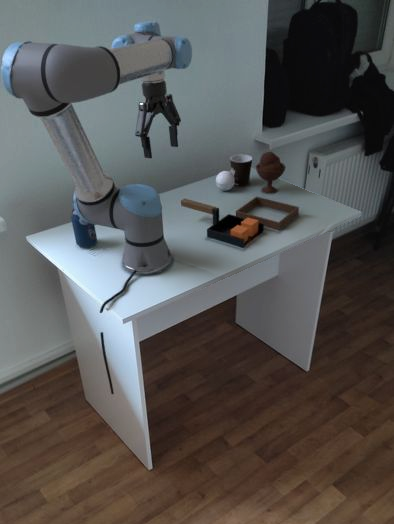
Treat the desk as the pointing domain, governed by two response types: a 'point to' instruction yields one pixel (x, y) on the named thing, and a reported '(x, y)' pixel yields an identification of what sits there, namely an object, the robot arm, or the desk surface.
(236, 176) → the coffee mug
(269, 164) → the ice cream bowl
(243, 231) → the block
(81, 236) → the soda can
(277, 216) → the desk surface
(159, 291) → the desk surface
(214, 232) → the pan
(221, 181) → the white oval piece
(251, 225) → the block
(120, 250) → the desk surface
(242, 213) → the tray
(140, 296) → the desk surface
